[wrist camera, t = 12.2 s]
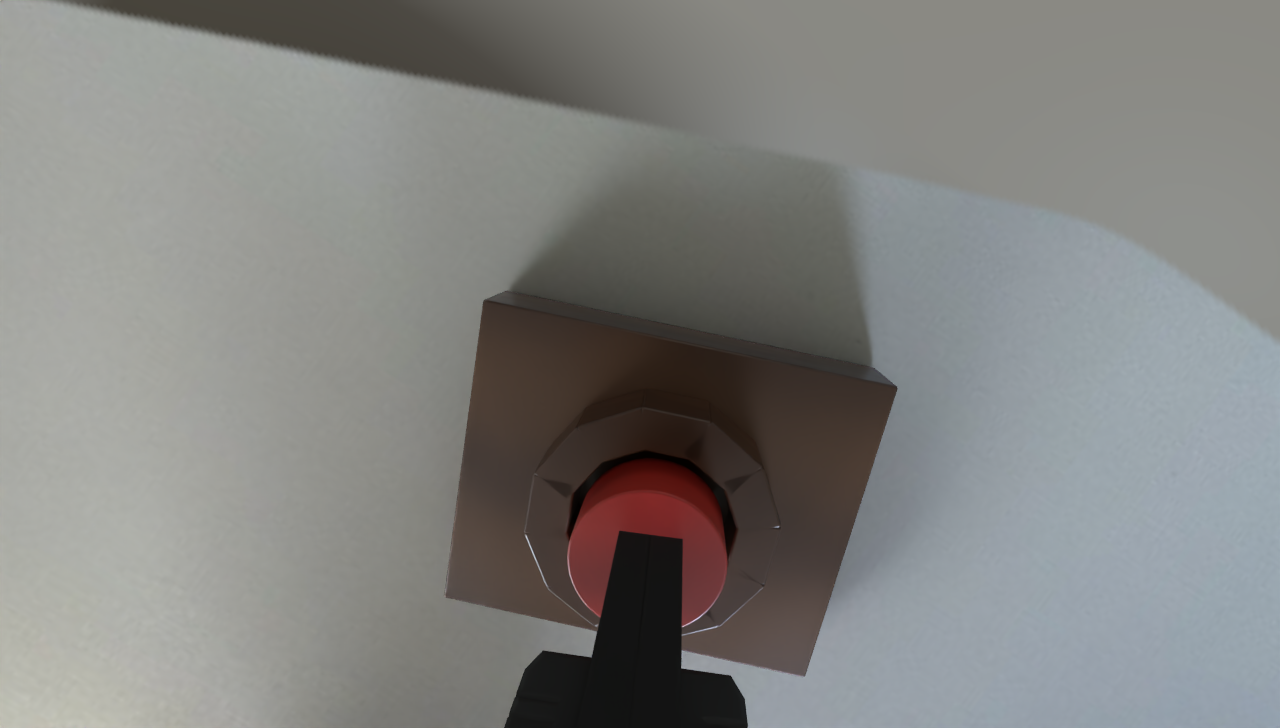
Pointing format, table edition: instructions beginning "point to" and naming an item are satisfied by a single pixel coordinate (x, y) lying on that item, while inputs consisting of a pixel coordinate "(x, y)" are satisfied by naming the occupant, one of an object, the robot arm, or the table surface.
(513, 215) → the table surface
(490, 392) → the button block
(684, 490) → the button
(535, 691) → the robot arm
